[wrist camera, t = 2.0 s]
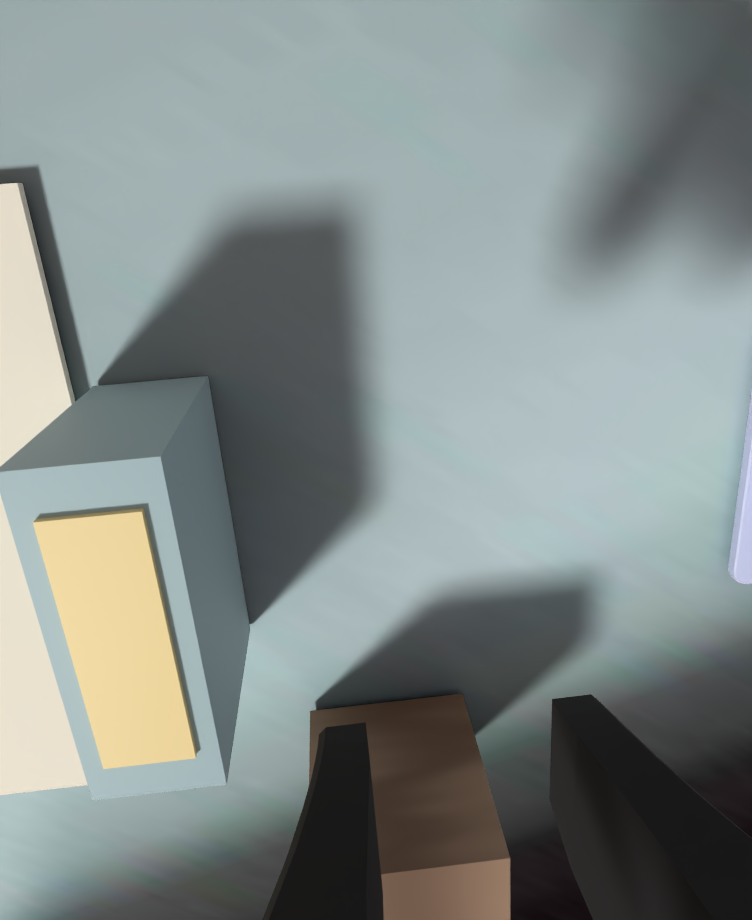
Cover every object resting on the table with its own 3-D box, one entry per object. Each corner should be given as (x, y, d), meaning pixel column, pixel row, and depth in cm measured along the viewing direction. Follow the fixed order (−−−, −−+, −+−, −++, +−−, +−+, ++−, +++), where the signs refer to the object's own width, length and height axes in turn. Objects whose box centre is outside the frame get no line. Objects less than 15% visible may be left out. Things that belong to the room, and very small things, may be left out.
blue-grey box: (208, 375, 18) (158, 459, 12) (250, 628, 21) (225, 790, 15) (92, 386, 18) (-10, 475, 12) (151, 639, 21) (90, 806, 15)
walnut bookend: (462, 693, 23) (510, 858, 17) (464, 750, 23) (510, 924, 18) (310, 711, 22) (307, 883, 17) (317, 767, 23) (317, 949, 18)
